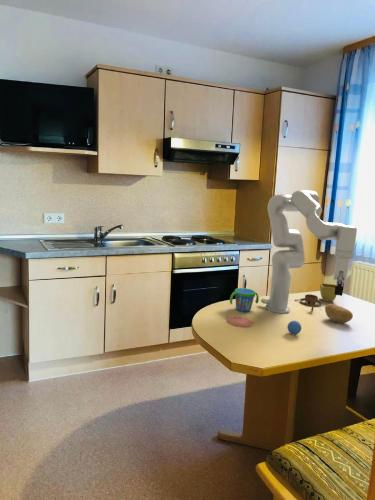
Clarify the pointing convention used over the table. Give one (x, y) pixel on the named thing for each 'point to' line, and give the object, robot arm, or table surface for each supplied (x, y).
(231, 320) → the disc
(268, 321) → the table surface
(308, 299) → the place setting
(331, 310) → the potato
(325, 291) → the flower pot
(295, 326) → the ball
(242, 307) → the snack cup
